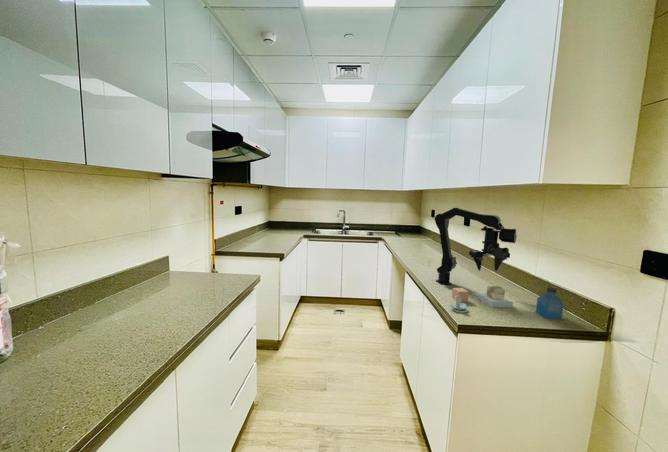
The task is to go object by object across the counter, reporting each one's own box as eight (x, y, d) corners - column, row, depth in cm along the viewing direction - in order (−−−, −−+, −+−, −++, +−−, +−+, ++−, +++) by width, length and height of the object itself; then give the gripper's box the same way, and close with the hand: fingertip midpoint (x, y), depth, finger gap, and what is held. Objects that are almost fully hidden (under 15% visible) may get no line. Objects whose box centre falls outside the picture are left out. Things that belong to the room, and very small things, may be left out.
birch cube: (486, 295, 126) (487, 285, 126) (495, 295, 127) (496, 285, 127) (494, 299, 122) (495, 289, 121) (503, 299, 122) (505, 289, 122)
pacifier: (471, 312, 113) (460, 306, 119) (473, 299, 112) (462, 293, 118) (457, 314, 111) (447, 308, 117) (459, 300, 110) (448, 294, 116)
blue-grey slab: (477, 299, 129) (478, 293, 129) (496, 299, 130) (497, 293, 130) (491, 308, 119) (492, 302, 119) (512, 308, 120) (513, 301, 120)
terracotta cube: (451, 297, 129) (452, 287, 129) (461, 297, 130) (462, 287, 129) (457, 301, 124) (458, 291, 124) (467, 301, 125) (468, 291, 124)
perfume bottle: (550, 313, 115) (554, 286, 114) (561, 319, 109) (565, 291, 108) (535, 312, 116) (539, 285, 115) (545, 318, 110) (549, 290, 108)
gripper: (484, 243, 125) (481, 275, 127) (520, 243, 127) (516, 275, 129) (469, 238, 136) (466, 268, 138) (503, 239, 138) (500, 268, 140)
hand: (487, 270), depth 136 cm, fingers open, 9 cm apart
